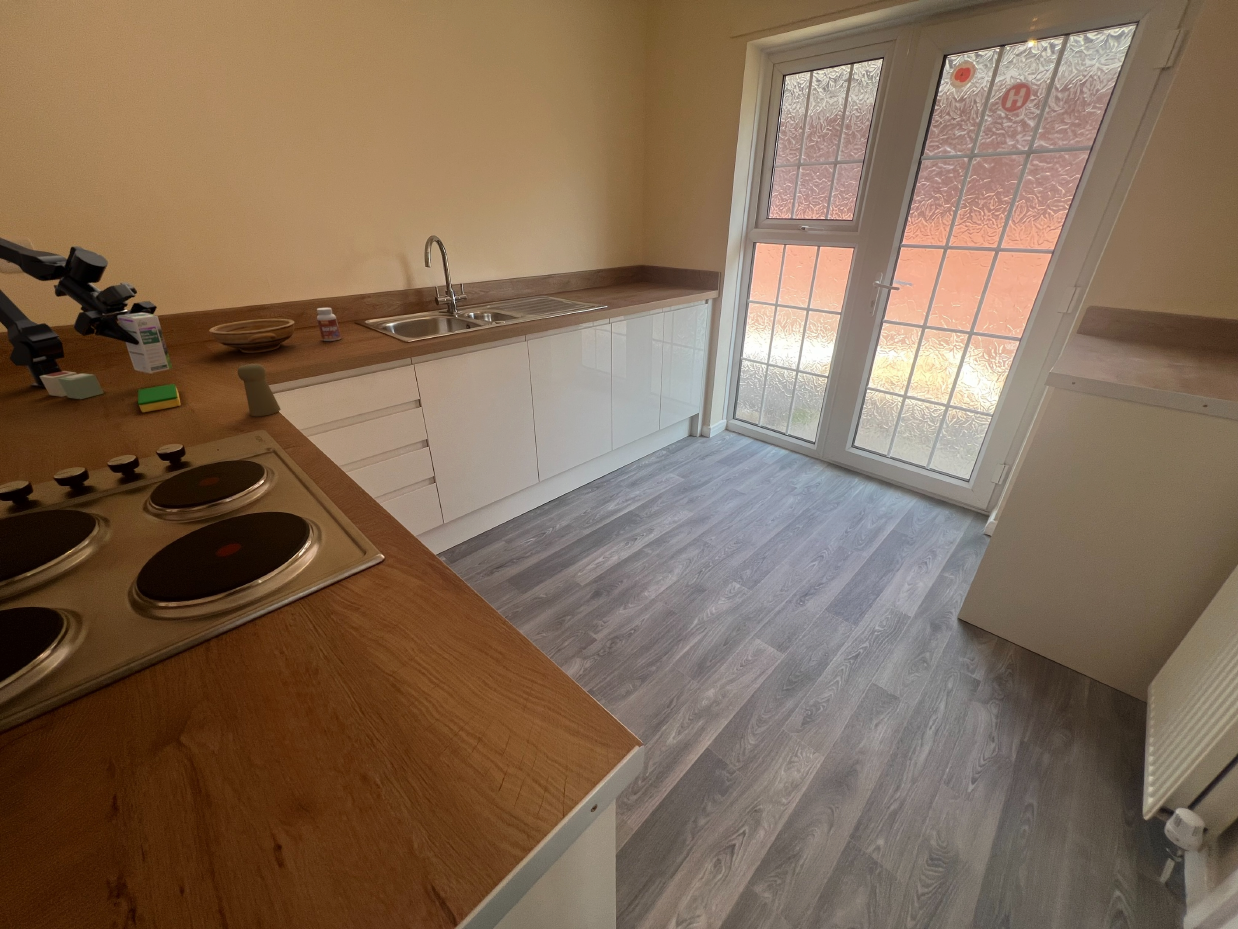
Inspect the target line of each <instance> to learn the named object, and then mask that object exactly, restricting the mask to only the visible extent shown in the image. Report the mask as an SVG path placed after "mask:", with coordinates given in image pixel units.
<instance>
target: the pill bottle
mask: <svg viewBox="0 0 1238 929" xmlns="http://www.w3.org/2000/svg"><path fill="white" fill-rule="evenodd" d="M332 309H333V308H332V307H318V308H316V312H317V314H318V315H317V316H316V321H317V326H318V328H319V333H320V336H321V340H322V341H323V342H334V341H339V340H341V339H342V334H341V331H340V327H339V324H338V320H337V316H336V315H335V314H334V313H333V310H332Z"/></svg>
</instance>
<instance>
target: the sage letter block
mask: <svg viewBox="0 0 1238 929" xmlns="http://www.w3.org/2000/svg"><path fill="white" fill-rule="evenodd" d="M59 381H60V383H61V385H62V387H63V389H64V391H65V393H66V395H67V396H66V397H67V398H68V399H73V400H74V399H75V400H84V399H87V398H91V397H95V396H96V397H97V396H100V395H103V394H104V391H103V388H102V387H101V385H100V382H99V380H98V378H97V376H96V375H95V374H91V373H85V372H84V373H83V372H82V373H81V372H80V373H77V375H72V376H68V377H63V378H59Z"/></svg>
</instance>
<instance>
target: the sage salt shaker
mask: <svg viewBox="0 0 1238 929" xmlns="http://www.w3.org/2000/svg"><path fill="white" fill-rule="evenodd" d="M266 371H267V370H266V368H265V367H264V366H263V365H262V364H260V363H248V364H243V365H240V366H239V367H238V368H237V376H238V378H239V379H240V380H241V381H243V385H244V390H245V395H246V400H247V405H248V406H247V407H248V411H249V415H250V416H251V417H263V416H264V417H265V416H270V415H273V414H277V413H278V412H280V411H281V407H280V405H279V403H278V400H277V399H276V397H275V395H274V393H273V391H272V388H271V387H270V385H269V383H268V381H267V379H266V377H267V372H266Z"/></svg>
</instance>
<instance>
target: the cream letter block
mask: <svg viewBox="0 0 1238 929" xmlns="http://www.w3.org/2000/svg"><path fill="white" fill-rule="evenodd" d="M61 371H62V370H61ZM77 374H78V373H77V372H75V371H74V372H73V371H67V370H63V371H62V372H57V373H52V374H48V375H43V376H40V378H41V380H42V382H43V384H44V385H45V387H44V388H45V389H46V391H47V393H48V394H49V396H55V397H60V398H61V397H62V398H63V397H68V396H67V395H66V393H65V391H64V389H63V387H62V385H61V383H60V381H59V378H63V377H68V376H72V375H77Z"/></svg>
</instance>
